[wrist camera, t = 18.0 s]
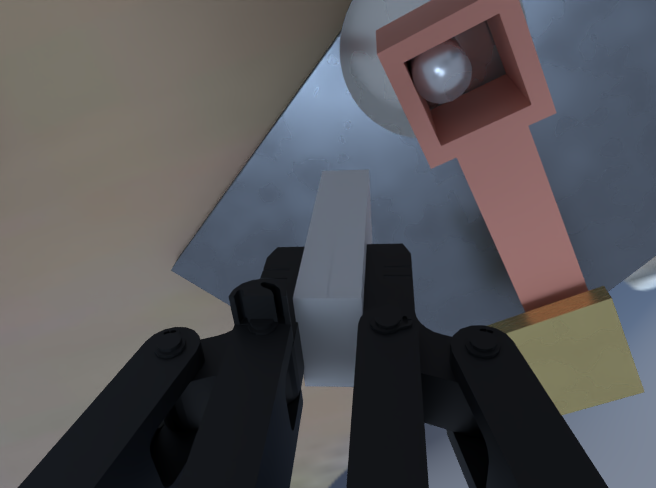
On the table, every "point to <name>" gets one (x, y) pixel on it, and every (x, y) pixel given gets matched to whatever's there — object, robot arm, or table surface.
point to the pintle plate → (456, 161)
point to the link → (491, 139)
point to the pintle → (441, 72)
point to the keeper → (576, 350)
